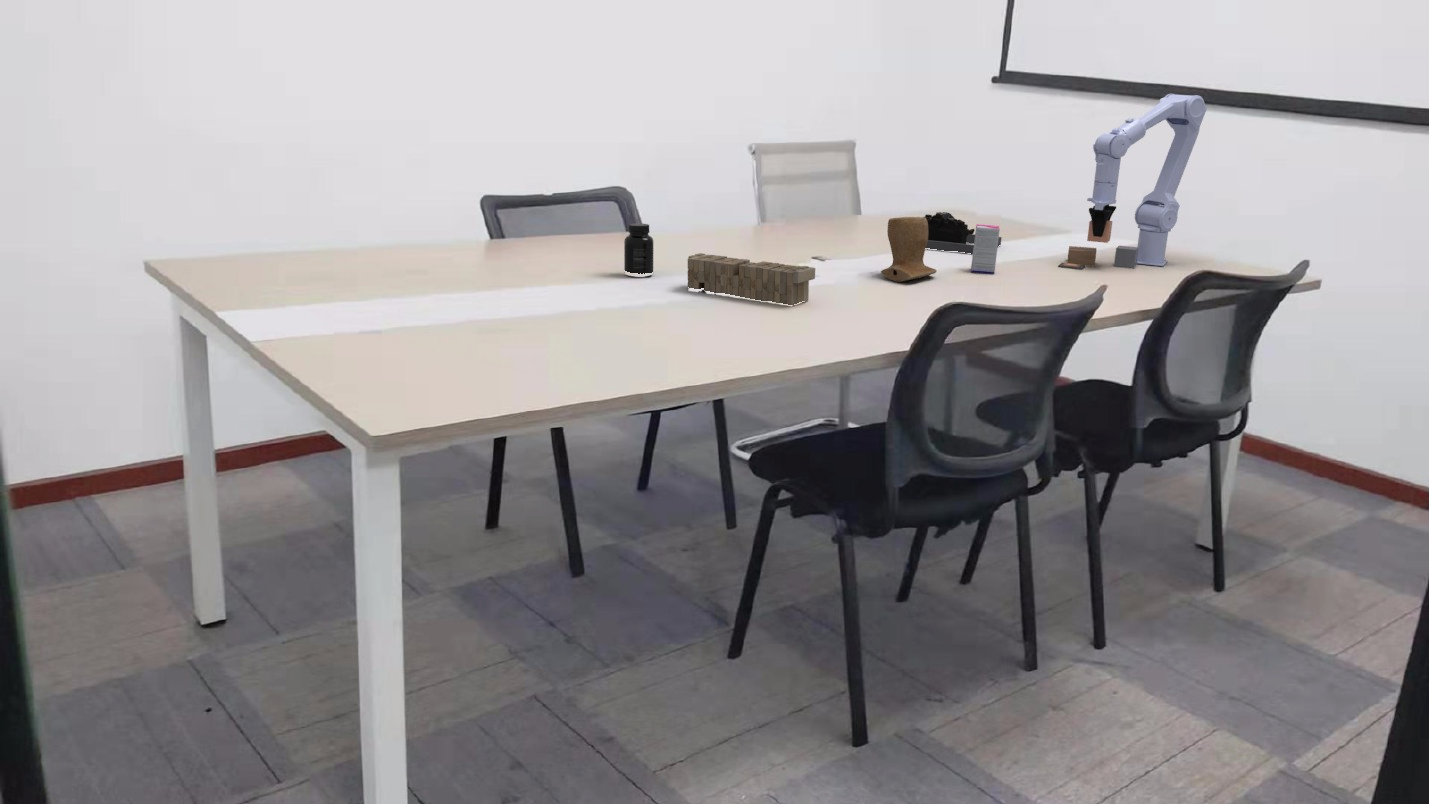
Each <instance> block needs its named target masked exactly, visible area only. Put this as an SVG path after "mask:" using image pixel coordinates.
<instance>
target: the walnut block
mask: <svg viewBox="0 0 1429 804" xmlns="http://www.w3.org/2000/svg"><path fill="white" fill-rule="evenodd" d="M1096 258H1097V247H1089V246H1076V245H1075V246H1074V245H1073V246H1072V245H1069V246H1068V252H1067V260H1066V261H1067V262H1066V263H1070V264H1079V265H1085V267H1087V266H1088V267H1095V266H1096Z"/></svg>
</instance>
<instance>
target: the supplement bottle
mask: <svg viewBox="0 0 1429 804" xmlns="http://www.w3.org/2000/svg"><path fill="white" fill-rule="evenodd" d="M627 232H628V235H627V236H626V237H625V238H624V241H623V242H624V245H623V246H624V249H623V250H624V252H623V253H624V255H623V256H624V257H623V258H624V259H623V260H624V263H623V266H624V270H625V271H627V272H630V273H638V274H640V273H641V274H643V273H644V274H645V273H652V272H653V273H654V239H653V237H652V236H651V235H649V234H650V224H648V223H634V222H633V223H630V224H628V231H627ZM624 270H623V271H624Z"/></svg>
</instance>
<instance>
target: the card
mask: <svg viewBox="0 0 1429 804" xmlns="http://www.w3.org/2000/svg"><path fill="white" fill-rule="evenodd" d="M1057 268H1065V269H1074V270H1083V269H1084V268H1086V266H1085V265H1079V264H1070V263H1067V262H1060V263H1059V264H1058V266H1057Z"/></svg>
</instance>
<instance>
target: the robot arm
mask: <svg viewBox="0 0 1429 804" xmlns="http://www.w3.org/2000/svg"><path fill="white" fill-rule="evenodd" d="M1206 112H1207V106H1206V103H1205V101H1204V98H1203V96H1200V95H1195V94H1194V95H1187V94H1176V93H1168V94H1166V95H1165V96H1164V97H1162V98H1160V99H1159V102H1158V103H1157V104H1156V105H1155V106H1153V107H1152V108H1150V110H1148V111H1147V112H1146V113H1144V114H1143V115H1142V116H1140V117H1139V118H1136V117H1134V118H1131V117H1129V118H1127V119H1125V120H1124V121H1125V122H1124V123H1122V124H1121V125H1120V126H1119V125H1118V127H1115V128H1113V129H1112V130H1111V131H1110V132H1109V133H1102V134H1100V135H1099V136H1098V137H1097V138H1096V140H1095V142H1094V144H1093V145H1092V146H1093V147H1092V149H1093V152H1094V154H1095V159H1094V160H1095V163H1096V167H1095V172H1094V174H1095V175H1094V179H1093V181H1094V182H1093V187H1092V188H1093V189H1092V197H1088V198H1087V199H1086V201H1087V202H1091V203H1093V204H1094V205H1093V206H1092V207H1089V208H1088V213H1089V215H1090V217H1091V218H1090V219H1091V220H1092V228H1093V236H1097V237H1102V235H1103V233H1104V229H1105V226H1106V222H1107V221H1111V219H1112V216H1113V214H1114V212H1115V211H1116V210H1117V206H1116V204H1117V190H1118V182H1119V174H1120V168H1121V159H1122V157H1123V158H1124V156H1125V155H1126V153H1128V152H1127V151H1128V149H1130V147H1131V146H1133V145H1134V144H1136V143H1138V142H1139V141H1140V140H1141V139H1142V140H1143V138H1144V137H1145V136H1146V132H1147V130H1149V129H1151V128H1153V127H1154V126H1156V125H1158V124H1160V123H1161V122H1163V121H1166V123H1167V124H1168V125H1169V127H1170V128H1171V129H1173V132H1174V136H1173V139H1172V141H1171V144H1170V147H1169V149H1168V152H1167V155H1166V156H1165V157H1166V158H1165V160H1164V162H1163V165H1162V168H1161V170H1160V174H1159V176H1158V178H1157V181H1156V184H1155V186H1154V188H1153V191H1151V192H1150V193H1149V192H1148V193H1147V194H1146V195H1145V196H1143V198H1142V200H1141V203H1140V204H1139V205H1138V206H1137V208H1136V210H1135V213H1134V221H1135V223H1136V225H1137V228H1138V229H1139V232H1138V240H1137V246H1136V247H1139V250H1138V257H1137V264H1136V265H1138V264H1139V265H1148V266H1157V267H1164V266H1165V265H1166V263H1167V262H1168V259H1166V258H1165V256H1166V251H1167V250H1166V249H1167V243H1168V236H1169V232H1172V231H1171V230H1172V229H1173V228H1175V226H1176V223H1177V221H1178V212H1179V209H1180V208H1181V207H1180V204H1179V202H1178V201H1177V199H1176V198H1175V196H1176V193H1177V191H1178V188H1179V186H1180V184H1181V183H1180V182H1181V180H1182V177H1183V176H1184V172H1185V170H1186V167H1187V165H1188V162H1189V159H1190V157H1191V154H1192V151H1193V150H1194V146H1195V144H1196V142H1197V139H1198V136H1199V132H1200V127H1201V126H1202V122H1203V120H1204V117H1205V114H1206Z"/></svg>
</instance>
